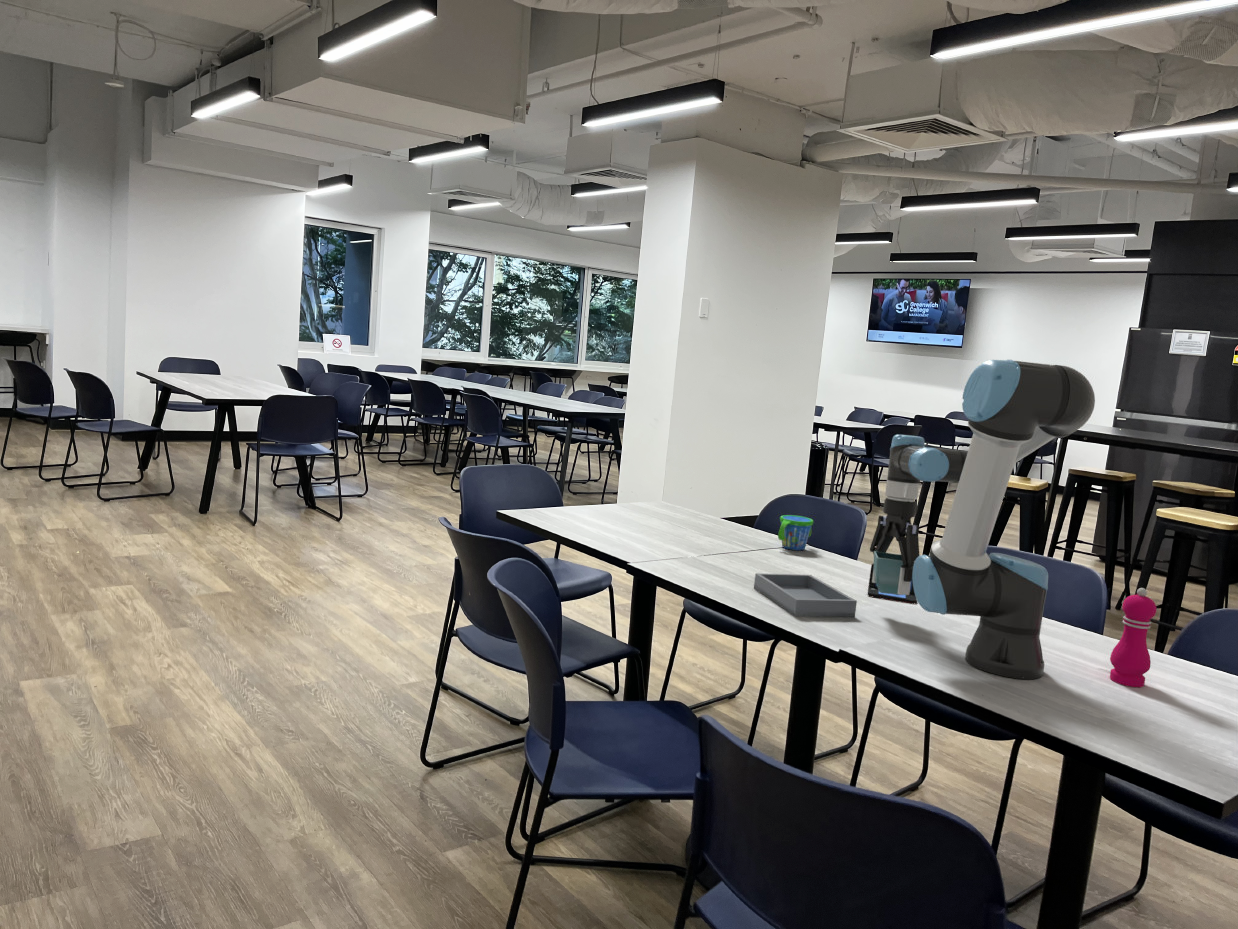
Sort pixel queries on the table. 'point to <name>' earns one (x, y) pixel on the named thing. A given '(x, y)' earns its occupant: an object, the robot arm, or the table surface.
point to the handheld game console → (903, 598)
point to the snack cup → (794, 531)
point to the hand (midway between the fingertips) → (890, 588)
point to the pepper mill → (1133, 641)
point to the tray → (805, 595)
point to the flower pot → (887, 571)
